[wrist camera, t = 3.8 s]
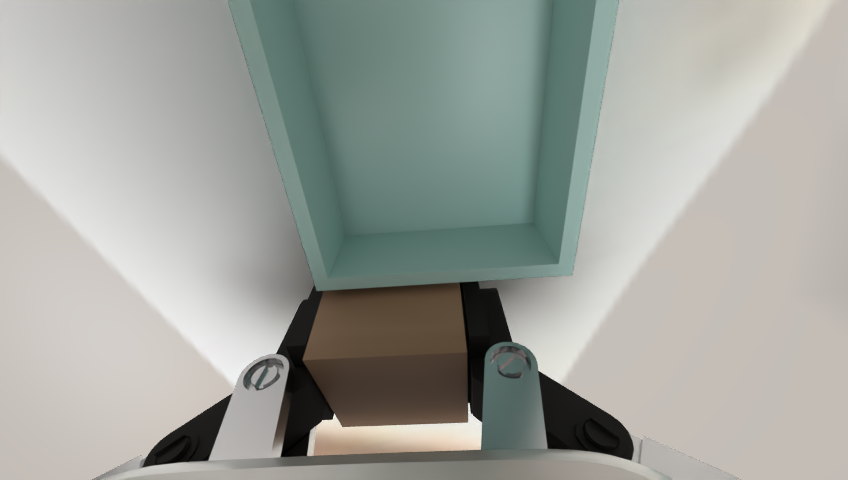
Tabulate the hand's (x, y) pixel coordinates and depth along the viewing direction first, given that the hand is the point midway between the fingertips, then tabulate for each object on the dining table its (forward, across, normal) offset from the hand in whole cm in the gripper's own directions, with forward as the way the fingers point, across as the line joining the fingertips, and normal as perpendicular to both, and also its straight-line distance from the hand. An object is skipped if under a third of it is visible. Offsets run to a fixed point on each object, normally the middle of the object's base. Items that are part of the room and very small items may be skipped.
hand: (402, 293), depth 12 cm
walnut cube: (0, 0, 0) cm, 0 cm away
